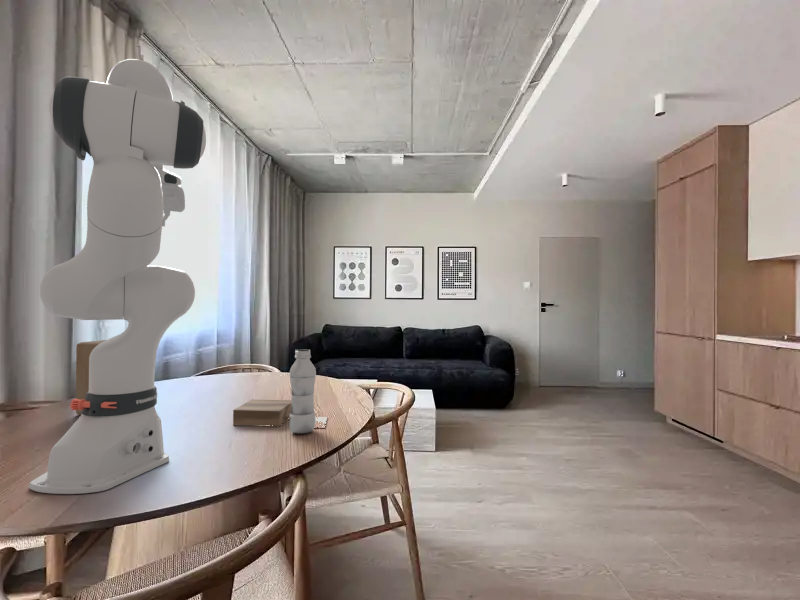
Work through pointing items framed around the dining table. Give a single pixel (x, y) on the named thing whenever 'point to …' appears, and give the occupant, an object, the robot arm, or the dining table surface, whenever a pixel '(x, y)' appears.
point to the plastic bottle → (302, 393)
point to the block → (83, 368)
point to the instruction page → (322, 419)
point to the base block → (262, 412)
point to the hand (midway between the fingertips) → (141, 224)
